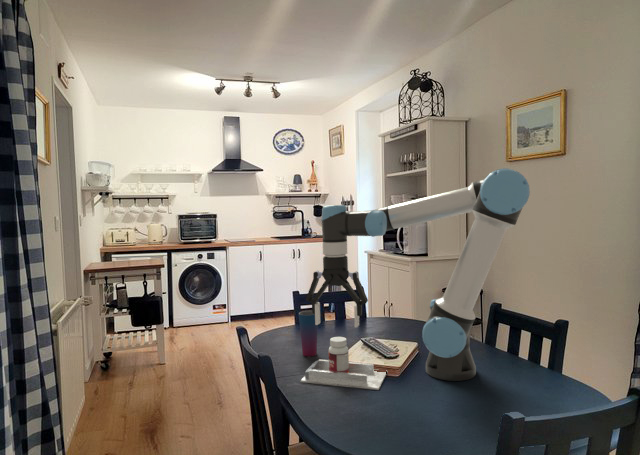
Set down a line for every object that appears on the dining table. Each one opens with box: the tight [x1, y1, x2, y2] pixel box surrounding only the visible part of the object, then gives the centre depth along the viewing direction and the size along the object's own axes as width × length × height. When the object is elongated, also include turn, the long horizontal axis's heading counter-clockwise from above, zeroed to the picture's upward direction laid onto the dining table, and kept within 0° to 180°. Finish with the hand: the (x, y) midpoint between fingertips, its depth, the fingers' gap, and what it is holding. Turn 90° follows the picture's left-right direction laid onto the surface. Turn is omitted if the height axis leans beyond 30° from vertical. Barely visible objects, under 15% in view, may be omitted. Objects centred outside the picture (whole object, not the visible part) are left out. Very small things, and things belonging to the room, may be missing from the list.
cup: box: [298, 310, 318, 357], centre depth 166 cm, size 7×7×15 cm
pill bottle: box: [328, 336, 350, 373], centre depth 144 cm, size 6×6×11 cm
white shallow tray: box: [300, 358, 387, 391], centre depth 144 cm, size 24×14×3 cm, turn 72°
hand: (337, 325), depth 144 cm, fingers open, 12 cm apart
